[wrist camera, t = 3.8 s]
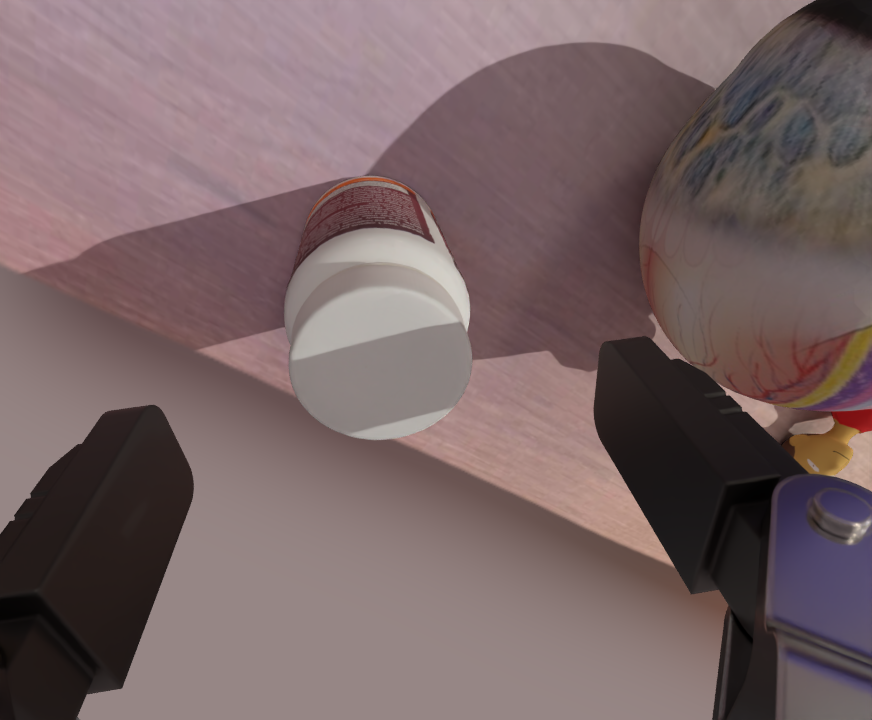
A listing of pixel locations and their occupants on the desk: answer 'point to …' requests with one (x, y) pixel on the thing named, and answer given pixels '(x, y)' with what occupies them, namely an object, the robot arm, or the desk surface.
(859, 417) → the person figure
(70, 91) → the desk surface
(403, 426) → the pill bottle
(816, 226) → the anatomical model
